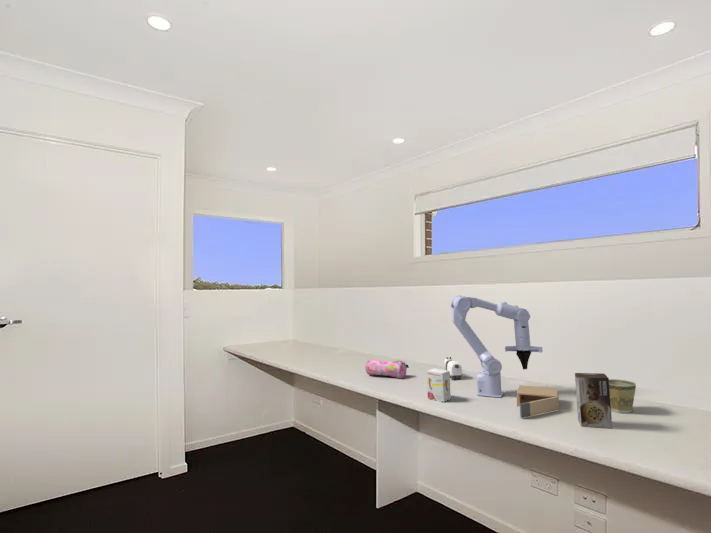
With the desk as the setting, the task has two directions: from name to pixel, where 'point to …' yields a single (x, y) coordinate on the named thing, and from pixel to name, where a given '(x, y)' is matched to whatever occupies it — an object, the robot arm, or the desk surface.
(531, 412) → the carton flap
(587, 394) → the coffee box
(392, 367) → the pencil case
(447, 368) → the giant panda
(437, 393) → the ink box
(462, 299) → the robot arm
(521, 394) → the carton
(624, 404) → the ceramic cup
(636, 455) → the desk surface
